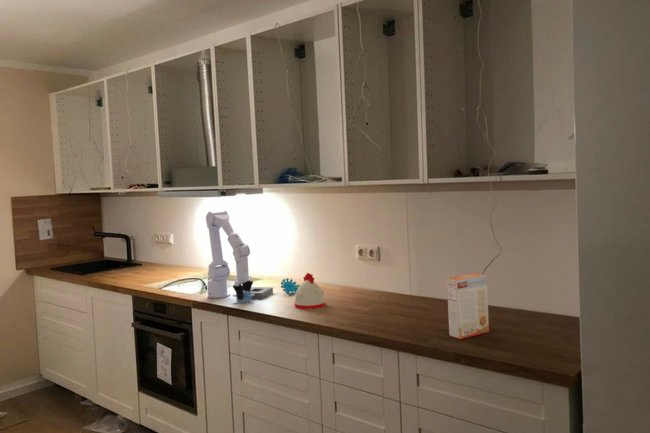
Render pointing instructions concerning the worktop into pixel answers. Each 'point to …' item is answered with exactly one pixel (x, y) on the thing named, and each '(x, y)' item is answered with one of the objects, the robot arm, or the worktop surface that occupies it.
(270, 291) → the chassis
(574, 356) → the worktop surface
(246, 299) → the servo
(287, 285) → the gear
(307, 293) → the white and red dome
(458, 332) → the cracker box
